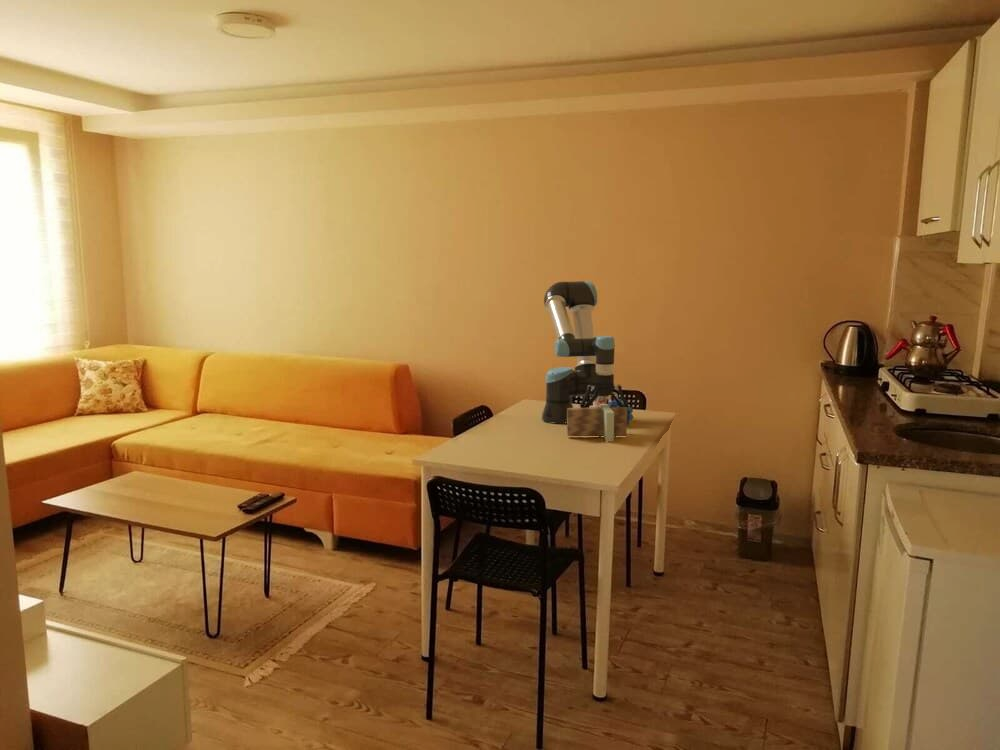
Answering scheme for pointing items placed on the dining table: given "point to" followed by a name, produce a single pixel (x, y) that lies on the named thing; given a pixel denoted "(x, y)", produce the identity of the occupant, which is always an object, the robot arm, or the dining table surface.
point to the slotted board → (594, 421)
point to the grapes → (629, 409)
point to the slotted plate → (608, 422)
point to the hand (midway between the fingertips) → (603, 424)
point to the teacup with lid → (603, 400)
